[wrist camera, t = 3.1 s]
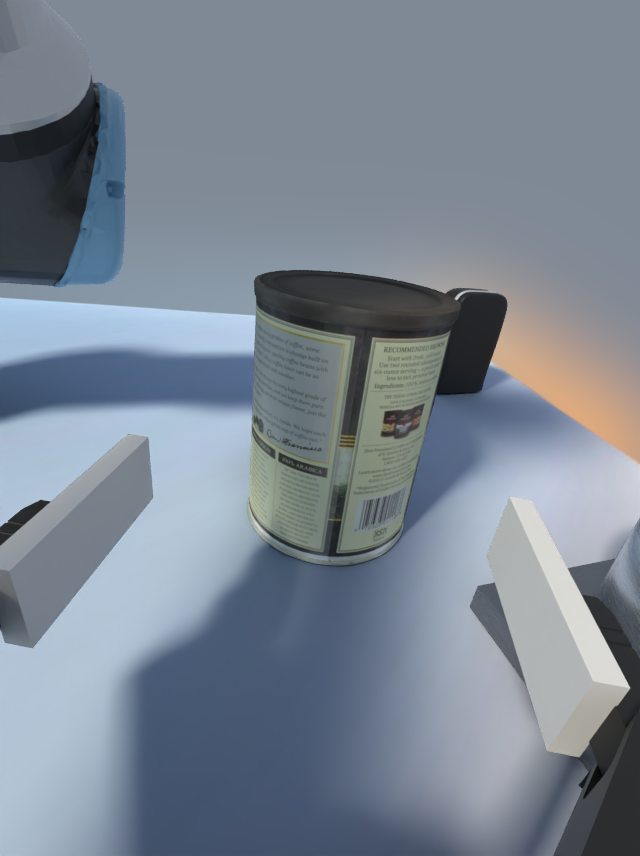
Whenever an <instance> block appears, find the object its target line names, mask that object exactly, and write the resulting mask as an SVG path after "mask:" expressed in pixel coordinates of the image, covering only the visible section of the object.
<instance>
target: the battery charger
mask: <svg viewBox="0 0 640 856" xmlns="http://www.w3.org/2000/svg"><path fill="white" fill-rule="evenodd" d="M446 294H447V295H449V296H451V297H453V298H454V299H456V300H457V301H458V302H459V303H460V304H461V309H460V313H459V316H458V319H457V320H456V322H455V323H454V324H453V328H452V332H451V336H450V339H449V343H448V347H447V351H446V355H445V360H444V364H443V367H442V372H441V375H440V379H439V383H438V387H437V392H436V393H444V394H449V393H467V392H477V391H481V390H482V387H483V383H484V380H485V376H486V373H487V370H488V367H489V364H490V361H491V358H492V356H493V353H494V350H495V347H496V344H497V341H498V338H499V335H500V332H501V328H502V325H503V322H504V318H505V315H506V311H507V300H506V298H505V297H504V296H503V295H502V294H500V293H497V292H492V291H487V290H482V289H469V288H456V289H452V290H450V291H448V292H447V293H446Z"/></svg>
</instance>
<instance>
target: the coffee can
mask: <svg viewBox="0 0 640 856" xmlns="http://www.w3.org/2000/svg"><path fill="white" fill-rule="evenodd" d="M254 287H255V288H254V289H255V295H256V325H255V350H254V379H253V407H252V434H251V462H250V492H249V498H248V516H249V519H250V521H251V523H252V525H253V527H254V529H255V530H256V532H257V533H258V534H259V535H260V536H261V537H262V538H263V539H264V540H265V541H266V542H267V543H269V544H270V545H271V546H273V547H274V548H276V549H278V550H279V551H281V552H282V553H284V554H286V555H289V556H292V557H295V558H297V559H300V560H303V561H307V562H310V563H314V564H322V565H334V566H340V565H354V564H357V563H361V562H365V561H368V560H371V559H374V558H376V557H378V556H380V555H382V554H384V553H385V552H387V551H388V550H389V549H390V548H391V547H392V546H393V545H394V544H395V543H396V542H397V541H398V540H399V538H400V536H401V533H402V530H403V526H404V517H405V513H406V510H407V506H408V502H409V498H410V494H411V490H412V486H413V482H414V478H415V474H416V470H417V466H418V462H419V458H420V454H421V450H422V446H423V442H424V439H425V435H426V431H427V427H428V423H429V418H430V415H431V411H432V408H433V405H434V400H435V396H436V392H437V387H438V383H439V379H440V375H441V372H442V367H443V364H444V360H445V355H446V351H447V347H448V343H449V339H450V336H451V332H452V328H453V324H454V323H455V322H456V320H457V319H458V316H459V313H460V309H461V304H460V303H459V302H458V301H457V300H456V299H454V298H453V297H451V296H449V295H447V294H444V293H442V292H439V291H437V290H434V289H430V288H427V287H423V286H419V285H415V284H411V283H407V282H403V281H397V280H393V279H387V278H381V277H374V276H368V275H360V274H353V273H343V272H332V271H312V270H311V271H310V270H290V271H275V272H269V273H265V274H262V275H259V276H257V277H256V278H255V280H254Z"/></svg>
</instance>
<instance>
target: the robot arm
mask: <svg viewBox="0 0 640 856" xmlns="http://www.w3.org/2000/svg"><path fill="white" fill-rule="evenodd" d="M125 138H126V137H125V112H124V104H123V100H122V98H121V96H120V95H119V94H118V93H117V92H115V91H114V90H112V89H109V88H107V87H106V86H105V85H103V84H102V83H93V82H92V76H91V69H90V64H89V60H88V56H87V53H86V50H85V48H84V46H83V44H82V41H81V40H80V38H79V37H78V35H77V34H76V33H75V31H74V30H73V29H72V28H71V27H70V25H69V24H68V23H67V22H66V21H65V20H64V19H63V18H62V17H61V16H60V15H59V14H58V13H56V12H55V11H54V10H53V9H52V8H51V7H50V6H49V5H48V4H47V3H46V2H45V1H44V0H0V283H16V284H32V285H48V286H55V287H63V286H65V285H81V284H82V285H84V284H85V285H86V284H87V285H89V284H105V283H108V282H110V281H112V280H113V279H115V278H116V276H117V275H118V274H119V272H120V270H121V267H122V262H123V252H124V233H125V231H124V230H125V194H124V189H125V171H126V143H125V142H126V139H125ZM152 499H153V489H152V477H151V465H150V453H149V441H148V437H144V436H137V435H131V434H128V435H126V436H125V437H124V438H123V439H122V440H121V441H120V442H118V443H117V444H116V445H115V446H114V447H113V448H112V449H110V450H109V451H108V452H107V453H106V454H105V455H104V456H102V457H101V458H100V459H99V460H98V461H97V462H96V463H94V464H93V465H92V466H91V467H90V468H89V469H88V470H86V471H85V472H84V473H83V474H82V475H81V476H80V477H78V478H77V479H76V480H75V481H74V482H73V483H72V484H70V485H69V486H68V487H67V488H66V489H65V490H64V491H62V492H61V493H60V494H59V495H58V496H57V497H56V498H54V499H53V500H52V501H51V502H50V501H44V500H40V501H38V502H36V503H34V504H32V505H30V506H27V507H25V508H23V509H22V510H20V511H19V512H18V513H17V514H16V515H14V516H13V517H12V518H11V519H10V520H8V523H5V524H4V525H2V526H1V527H0V630H1V632H2V635H3V638H4V641H5V643H9V644H14V645H19V646H24V647H29V648H33V647H34V646H35V645H36V644H37V642H38V641H39V640H40V639H41V637H42V636H43V635H44V634H45V632H46V631H47V630H48V629H49V627H50V626H51V625H52V624H53V622H54V621H55V620H56V619H57V617H58V616H59V615H60V614H61V612H62V611H63V610H64V609H65V607H66V606H67V605H68V604H69V602H70V601H71V600H72V599H73V597H74V596H75V595H76V594H77V592H78V591H79V590H80V589H81V587H82V586H83V585H84V584H85V582H86V581H87V580H88V579H89V577H90V576H91V575H92V574H93V572H94V571H95V570H96V569H97V567H98V566H99V565H100V564H101V562H102V561H103V560H104V559H105V557H106V556H107V555H108V554H109V552H110V551H111V550H112V549H113V547H114V546H115V545H116V544H117V542H118V541H119V540H120V539H121V537H122V536H123V535H124V534H125V532H126V531H127V530H128V529H129V527H130V526H131V525H132V524H133V522H134V521H135V520H136V519H137V517H138V516H139V515H140V514H141V512H142V511H143V510H144V509H145V507H146V506H147V505H148V504H149V502H150V501H151V500H152ZM487 559H488V562H489V565H490V568H491V572H492V575H493V578H494V581H495V585H496V588H497V591H498V594H499V597H500V601H501V604H502V607H503V610H504V614H505V617H506V620H507V623H508V627H509V630H510V633H511V636H512V640H513V643H514V646H515V649H516V653H517V656H518V659H519V662H520V666H521V669H522V672H523V675H524V679H525V682H526V685H527V688H528V692H529V695H530V698H531V701H532V704H533V708H534V711H535V714H536V717H537V721H538V724H539V727H540V730H541V734H542V737H543V740H544V743H545V747H546V750H547V751H549V752H555V753H560V754H565V755H570V756H575V757H580V756H581V755H582V753H583V752H584V750H585V749H586V748H587V746H588V745H589V744H590V746H591V748H592V751H593V753H594V756H595V758H596V761H597V763H596V764H595V765H594V767H593V768H592V769H591V770H590V772H589V773H588V774H587V775H586V777H585V778H584V779H583V781H582V782H581V783H580V784H579V786H580V787H581V788H582V789H583V790H582V792H581V794H580V796H579V799H578V801H577V803H576V805H575V808H574V810H573V812H572V814H571V817H570V819H569V821H568V824H567V826H566V828H565V830H564V833H563V835H562V837H561V839H560V842H559V844H558V846H557V848H556V851H555V853H554V855H553V856H640V658H639V657H638V655H637V653H636V651H635V650H634V649H632V644H631V643H630V641H629V639H628V638H627V636H626V634H624V633H623V632H624V631H623V629H622V627H621V626H620V624H619V622H618V620H617V619H616V617H615V615H614V614H613V613H612V612H611V611H610V610H609V608H608V607H607V606H606V605H605V604H604V603H603V602H602V601H601V600H600V599H599V598H598V597H593V596H587V595H581V593H580V591H579V589H578V588H577V586H576V584H575V582H574V580H573V578H572V576H571V574H570V572H569V570H568V568H567V567H566V565H565V563H564V561H563V559H562V557H561V555H560V553H559V551H558V549H557V547H556V546H555V544H554V542H553V540H552V538H551V536H550V534H549V532H548V530H547V528H546V527H545V525H544V523H543V521H542V519H541V517H540V515H539V513H538V511H537V509H536V507H535V506H534V504H533V502H532V500H526V499H520V498H514V497H509V499H508V502H507V505H506V507H505V510H504V512H503V515H502V517H501V520H500V523H499V525H498V528H497V530H496V533H495V535H494V538H493V540H492V543H491V546H490V548H489V551H488V553H487Z"/></svg>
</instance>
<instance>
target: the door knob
mask: <svg viewBox="0 0 640 856" xmlns="http://www.w3.org/2000/svg"><path fill="white" fill-rule="evenodd" d="M568 570H569V572H570V574H571V576H572V578H573V580H574V582H575V584H576V586H577V588H578V589H579V591H580V593H581V595H587V596H593V597H598V598H599V599H600V600H601V601H602V602H603V603H604V604H605V605H606V606H607V607H608V608H609V610H610V611H611V612H612V613H613V614H614V615H615V617H616V619H617V620H618V622H619V624H620V626H621V627H622V629H623V631H624V632H623V633H624V634H626V636H627V638H628V639H629V641H630V643H631V644H632V649H634V650H635V651H636V653H637V655H638V657H639V658H640V518H639V520H638V522H637V523H636V525H635V527H634V529H633V530H632V532H631V534H630V535H629V537H628V539H627V541H626V542H625V544H624V546H623V547H622V549H621V551H620V553H619V554H618V556H617V558H616V559H612V560H607V561H602V562H597V563H592V564H587V565H582V566H577V567H572V568H568ZM470 608H471V609H472V610H473V612H474V613H475V615H476V616H477V617H478V619H479V620H480V621H481V623H482V624H483V626H484V627H485V628H486V630H487V631H488V633H489V634H490V635H491V637H492V638H493V639H494V641H495V642H496V644H497V645H498V646H499V648H500V649H501V650H502V652H503V653H504V655H505V656H506V657H507V659H508V660H509V662H510V663H511V664H512V666H513V667H514V668H515V670H516V671H517V673H518V674H519V675H520V677H521V678H522V679H523V681H524V682H525V679H524V675H523V672H522V669H521V666H520V662H519V659H518V656H517V653H516V649H515V646H514V643H513V640H512V636H511V633H510V630H509V627H508V623H507V620H506V617H505V614H504V610H503V607H502V604H501V601H500V597H499V594H498V591H497V588H496V585H495V583H491V584H486V585H481V586H478V587H477V590H476V592H475V595H474V597H473V600H472V602H471V605H470ZM525 684H526V682H525ZM579 758H580V760H581V761H582V762H583V764H584V765H585V766H586V768H587V769H588V771H589V772H590V770H591V769H592V768H593V767H594V765H595V764H596V763H597V761H596V758H595V756H594V753H593V751H592V748H591V746H590V744H589V745H588V746H587V748H586V749H585V750H584V752H583V753H582V755H581V756H580V757H579Z"/></svg>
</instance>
